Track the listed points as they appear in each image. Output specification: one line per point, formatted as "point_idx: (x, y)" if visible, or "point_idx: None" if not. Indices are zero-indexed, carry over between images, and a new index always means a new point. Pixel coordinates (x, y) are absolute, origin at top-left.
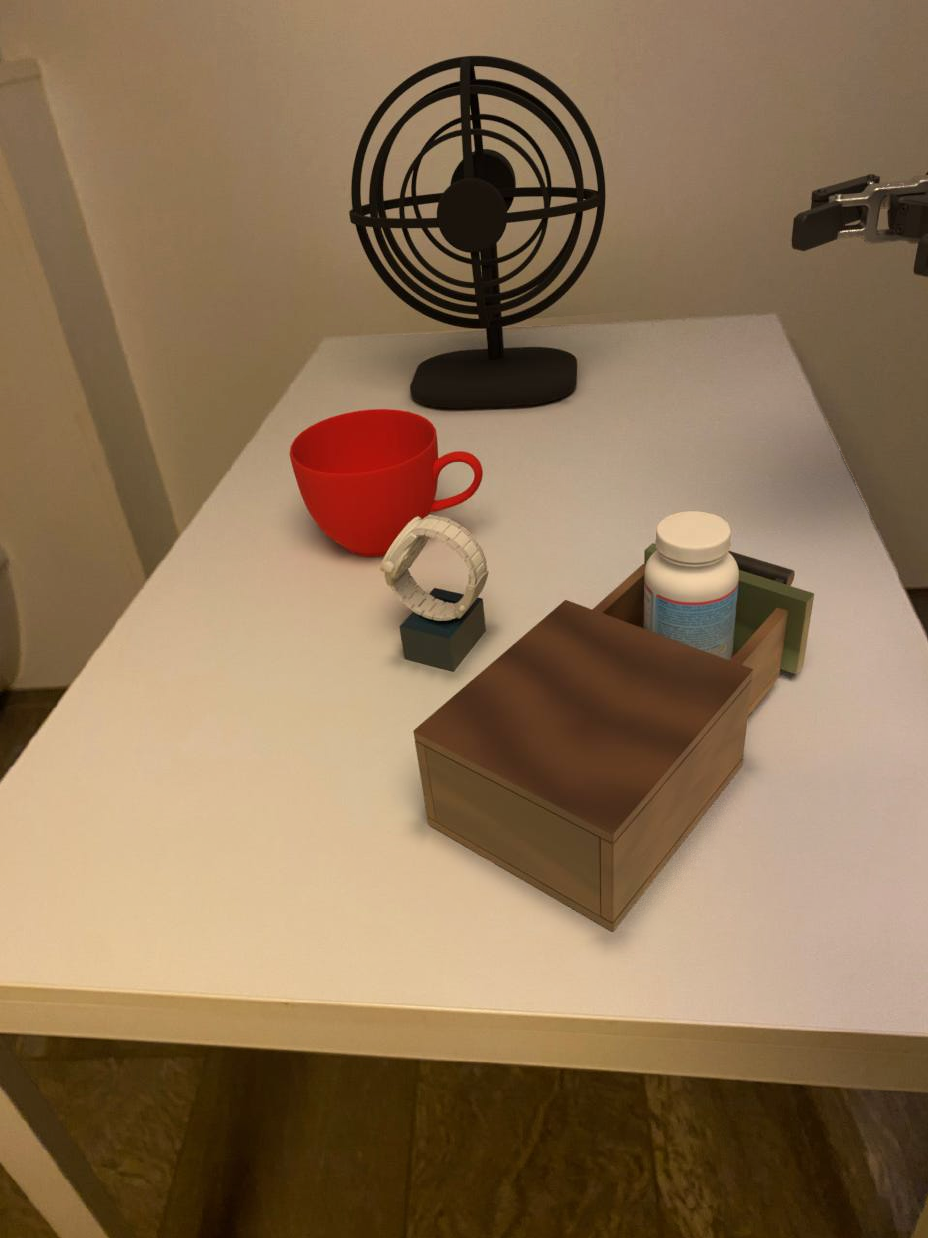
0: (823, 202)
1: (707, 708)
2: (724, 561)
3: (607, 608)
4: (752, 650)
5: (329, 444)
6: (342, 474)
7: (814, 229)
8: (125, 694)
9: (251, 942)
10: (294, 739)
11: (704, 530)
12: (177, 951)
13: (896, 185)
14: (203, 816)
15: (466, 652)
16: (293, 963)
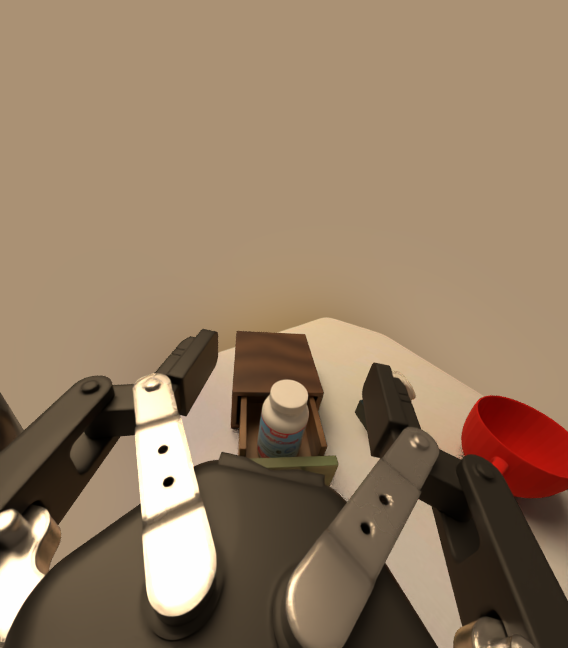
0: (450, 462)
1: (237, 369)
2: (271, 407)
3: (311, 408)
4: (241, 414)
5: (560, 447)
6: (479, 399)
7: (370, 391)
8: (407, 358)
9: (300, 333)
10: (356, 368)
11: (284, 394)
12: (309, 327)
13: (363, 500)
14: (343, 345)
15: (361, 421)
16: (289, 333)
